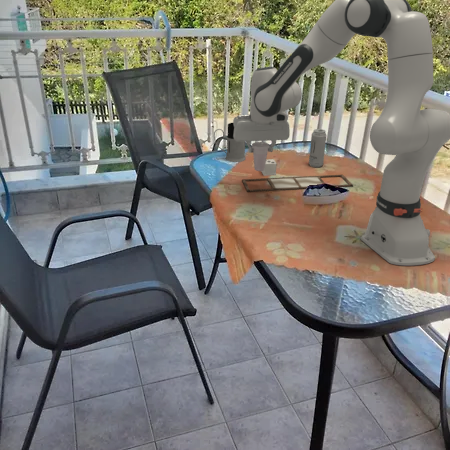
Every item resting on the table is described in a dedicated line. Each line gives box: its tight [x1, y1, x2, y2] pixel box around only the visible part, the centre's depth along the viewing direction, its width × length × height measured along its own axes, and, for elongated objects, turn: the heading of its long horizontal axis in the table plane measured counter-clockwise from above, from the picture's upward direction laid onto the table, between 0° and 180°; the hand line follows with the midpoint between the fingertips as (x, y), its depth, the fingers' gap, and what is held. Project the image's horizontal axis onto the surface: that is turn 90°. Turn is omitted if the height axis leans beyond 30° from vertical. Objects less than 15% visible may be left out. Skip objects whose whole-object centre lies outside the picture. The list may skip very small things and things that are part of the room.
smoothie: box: [251, 141, 270, 172], centre depth 172 cm, size 6×6×14 cm
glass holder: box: [213, 122, 247, 163], centre depth 200 cm, size 9×14×15 cm, turn 105°
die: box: [260, 158, 278, 177], centre depth 188 cm, size 5×5×5 cm
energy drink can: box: [308, 128, 327, 168], centre depth 194 cm, size 6×6×15 cm
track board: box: [241, 174, 354, 193], centre depth 180 cm, size 11×41×1 cm, turn 98°
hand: (260, 151), depth 172 cm, fingers closed on smoothie, 6 cm apart
